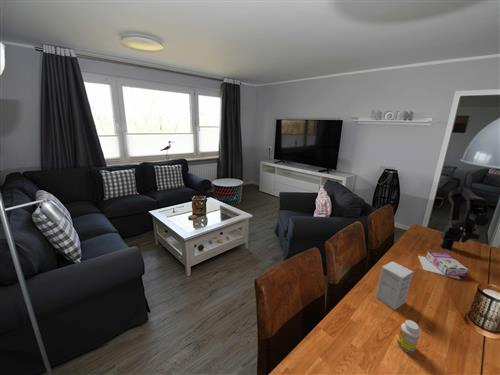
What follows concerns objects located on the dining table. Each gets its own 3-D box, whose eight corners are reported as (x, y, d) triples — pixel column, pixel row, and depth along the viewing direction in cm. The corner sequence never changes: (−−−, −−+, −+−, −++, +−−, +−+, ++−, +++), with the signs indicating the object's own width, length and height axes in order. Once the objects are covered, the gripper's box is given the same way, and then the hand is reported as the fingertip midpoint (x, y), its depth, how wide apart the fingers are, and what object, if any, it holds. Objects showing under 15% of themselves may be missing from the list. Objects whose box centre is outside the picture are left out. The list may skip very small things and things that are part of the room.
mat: (418, 256, 143) (418, 255, 142) (450, 263, 136) (450, 263, 136) (424, 270, 129) (424, 269, 129) (460, 279, 122) (460, 278, 122)
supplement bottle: (397, 336, 87) (404, 315, 84) (415, 345, 84) (422, 323, 81) (395, 346, 83) (401, 324, 80) (413, 356, 80) (421, 334, 77)
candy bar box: (425, 258, 140) (444, 275, 124) (427, 251, 139) (447, 267, 123) (444, 259, 139) (466, 277, 123) (446, 252, 138) (469, 269, 122)
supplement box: (405, 303, 104) (414, 271, 99) (395, 310, 99) (404, 278, 95) (384, 289, 112) (392, 260, 107) (374, 296, 107) (381, 265, 102)
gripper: (449, 210, 143) (442, 232, 147) (458, 221, 127) (449, 245, 132) (472, 214, 138) (464, 236, 142) (484, 226, 122) (475, 251, 127)
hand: (462, 242), depth 136 cm, fingers closed
